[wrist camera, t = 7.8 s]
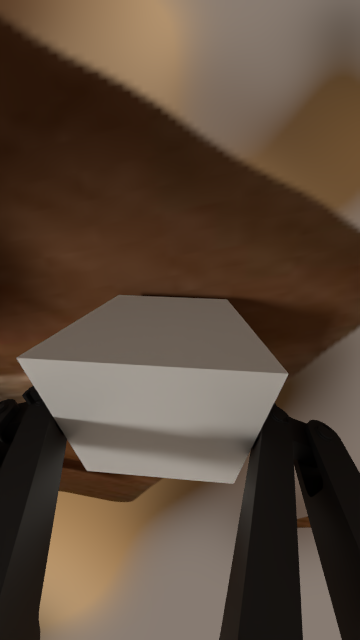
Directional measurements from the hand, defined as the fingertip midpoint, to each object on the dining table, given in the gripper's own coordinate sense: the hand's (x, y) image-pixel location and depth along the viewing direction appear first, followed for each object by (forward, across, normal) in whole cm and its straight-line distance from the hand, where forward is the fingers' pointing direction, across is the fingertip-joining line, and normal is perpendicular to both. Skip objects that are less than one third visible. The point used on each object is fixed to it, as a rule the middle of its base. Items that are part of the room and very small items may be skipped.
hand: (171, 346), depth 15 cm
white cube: (+1, 0, 0) cm, 1 cm away
